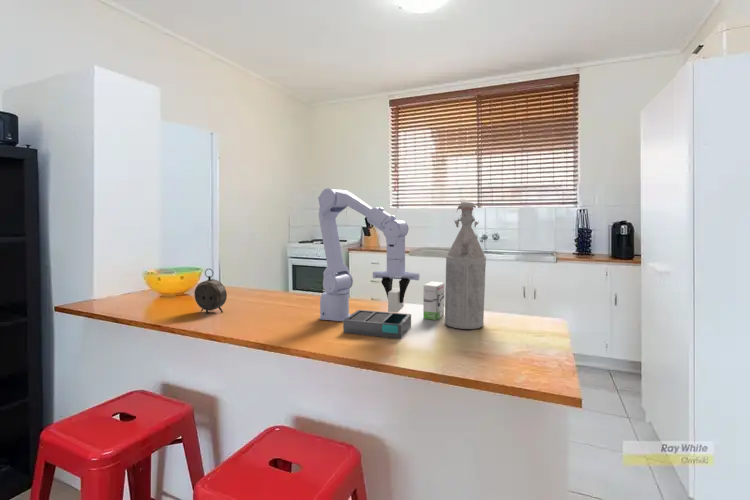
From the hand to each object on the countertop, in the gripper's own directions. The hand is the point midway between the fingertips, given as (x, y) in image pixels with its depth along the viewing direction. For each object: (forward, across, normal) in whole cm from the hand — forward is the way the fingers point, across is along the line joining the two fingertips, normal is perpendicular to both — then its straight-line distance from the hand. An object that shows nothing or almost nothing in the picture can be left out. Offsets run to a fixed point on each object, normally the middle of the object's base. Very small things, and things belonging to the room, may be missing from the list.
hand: (395, 301), depth 122 cm
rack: (+8, -5, -3) cm, 10 cm away
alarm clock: (+8, -70, -1) cm, 70 cm away
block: (+2, 0, 0) cm, 2 cm away
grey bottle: (+9, +20, +11) cm, 25 cm away
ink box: (+9, +9, +18) cm, 22 cm away
